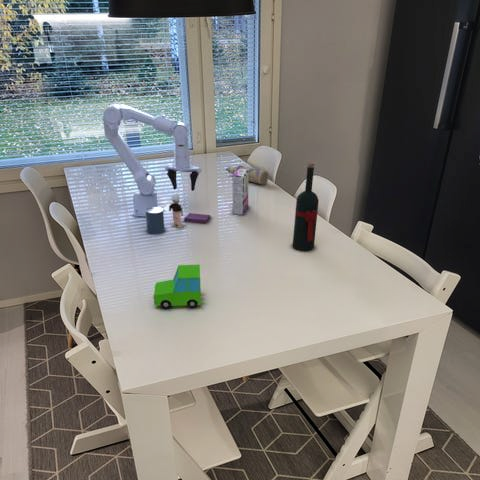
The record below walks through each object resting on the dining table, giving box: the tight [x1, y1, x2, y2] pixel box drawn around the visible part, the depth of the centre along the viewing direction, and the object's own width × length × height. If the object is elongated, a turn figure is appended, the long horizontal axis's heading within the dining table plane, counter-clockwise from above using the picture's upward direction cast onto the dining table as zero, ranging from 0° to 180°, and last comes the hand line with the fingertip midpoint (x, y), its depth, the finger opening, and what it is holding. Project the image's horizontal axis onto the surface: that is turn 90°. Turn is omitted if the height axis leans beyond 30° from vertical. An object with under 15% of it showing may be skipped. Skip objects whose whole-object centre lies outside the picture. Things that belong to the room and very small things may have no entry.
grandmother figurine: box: [168, 193, 185, 229], centre depth 189 cm, size 8×4×13 cm, turn 63°
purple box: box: [183, 212, 211, 225], centre depth 198 cm, size 9×7×2 cm
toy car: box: [153, 264, 202, 310], centre depth 139 cm, size 10×13×10 cm
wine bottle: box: [292, 162, 320, 252], centre depth 167 cm, size 8×10×30 cm
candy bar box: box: [232, 169, 249, 216], centre depth 204 cm, size 11×5×16 cm, turn 168°
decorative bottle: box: [225, 164, 269, 186], centre depth 246 cm, size 26×8×7 cm, turn 47°
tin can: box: [145, 206, 166, 235], centre depth 185 cm, size 7×7×8 cm
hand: (184, 189), depth 198 cm, fingers open, 7 cm apart
